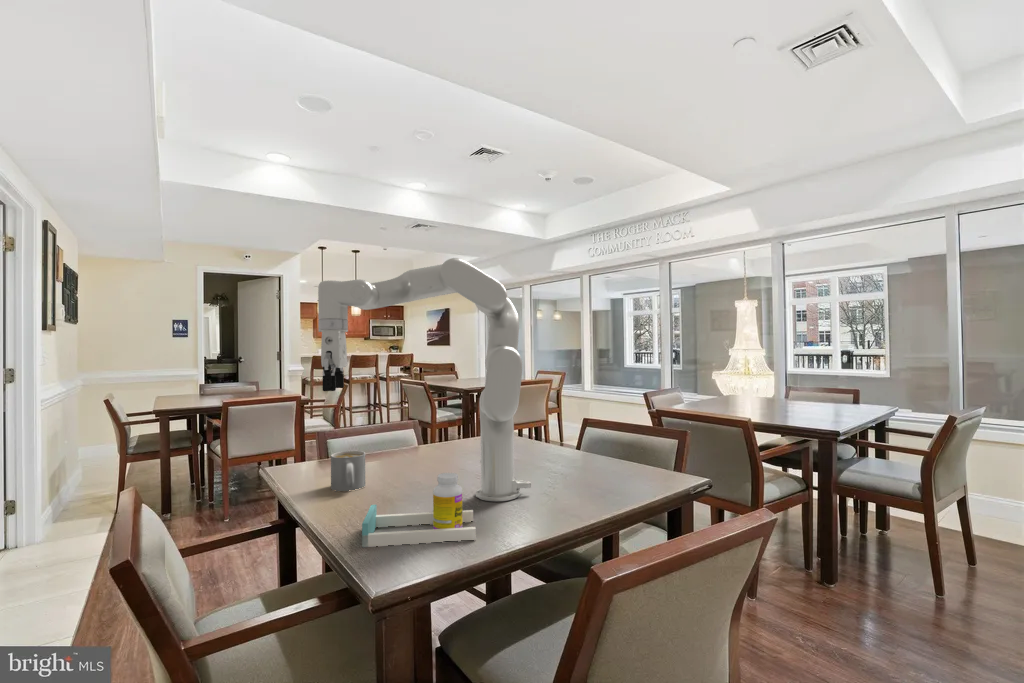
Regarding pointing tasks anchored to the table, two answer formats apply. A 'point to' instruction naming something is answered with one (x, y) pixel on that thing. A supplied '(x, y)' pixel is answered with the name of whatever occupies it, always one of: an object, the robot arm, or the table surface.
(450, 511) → the supplement bottle
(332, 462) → the coffee mug
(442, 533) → the guide track
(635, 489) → the table surface
